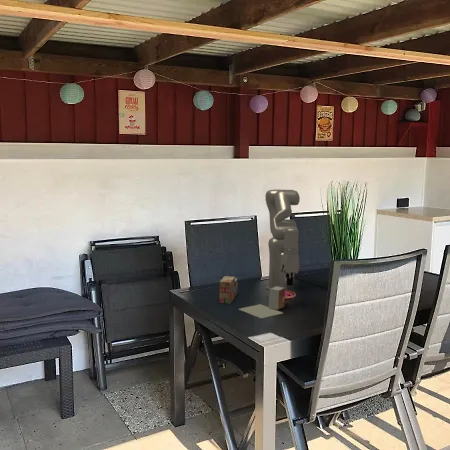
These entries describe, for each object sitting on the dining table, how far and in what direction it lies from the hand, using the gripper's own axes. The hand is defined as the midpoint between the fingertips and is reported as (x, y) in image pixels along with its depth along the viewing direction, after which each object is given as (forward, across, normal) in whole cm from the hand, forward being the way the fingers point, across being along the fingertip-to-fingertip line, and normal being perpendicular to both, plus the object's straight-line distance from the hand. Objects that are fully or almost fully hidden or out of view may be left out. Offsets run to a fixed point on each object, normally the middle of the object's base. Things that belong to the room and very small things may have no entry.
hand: (289, 285), depth 269 cm
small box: (+11, +9, -1) cm, 14 cm away
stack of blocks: (+11, +18, -29) cm, 36 cm away
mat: (+11, +20, -1) cm, 23 cm away
